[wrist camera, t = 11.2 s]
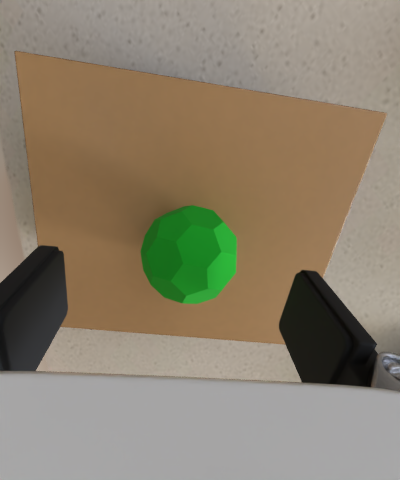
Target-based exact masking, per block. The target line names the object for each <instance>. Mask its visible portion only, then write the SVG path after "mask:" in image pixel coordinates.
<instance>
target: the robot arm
mask: <svg viewBox="0 0 400 480" xmlns="http://www.w3.org/2000/svg"><path fill="white" fill-rule="evenodd" d="M67 311H68V301H67V288H66V276H65V263H64V253H63V251H59V249H58V247H56V246H45V245H40V246H39V247H38V248H36V249H35V250H34V251H33V252H32V253H31V254H30V255H29V256H28V257H27V258H26V259H25V260H24V261H23V262H22V263H21V264H20V265H19V266H18V267H17V268H16V269H15V270H14V271H13V272H12V273H11V274H9V275H8V276H7V277H6V278H5V279H4V280H3V281H2V282H1V283H0V480H400V355H398V354H395V353H391V352H381V353H379V354H378V353H377V352H376V351H375V350H374V349H375V347H376V345H377V344H376V342H375V341H374V340H373V339H372V338H371V336H370V335H369V334H368V333H367V331H366V330H365V329H364V328H363V327H362V325H361V324H360V323H359V322H358V321H357V319H356V318H355V317H354V316H353V315H352V313H351V312H350V311H349V310H348V309H347V307H346V306H345V305H344V304H343V302H342V301H341V300H340V299H339V298H338V296H337V295H336V294H335V293H334V292H333V290H332V289H331V288H330V287H329V286H328V284H327V283H326V282H325V281H324V280H323V278H322V277H321V276H320V275H319V273H318V272H316V271H310V270H301V271H300V272H299V273H296V275H295V277H294V280H293V283H292V286H291V289H290V292H289V295H288V298H287V301H286V303H285V306H284V309H283V312H282V315H281V318H280V321H279V330H280V333H281V335H282V337H283V340H284V342H285V344H286V346H287V349H288V351H289V353H290V356H291V358H292V360H293V362H294V365H295V367H296V369H297V372H298V374H299V376H300V378H301V381H302V383H300V382H280V381H261V380H241V379H219V378H197V377H175V376H152V375H126V374H101V373H75V372H45V371H36V369H37V367H38V365H39V364H40V362H41V360H42V358H43V357H44V355H45V353H46V351H47V349H48V348H49V346H50V344H51V342H52V340H53V339H54V337H55V335H56V333H57V331H58V330H59V328H60V326H61V324H62V323H63V321H64V319H65V317H66V315H67Z"/></svg>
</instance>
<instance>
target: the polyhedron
mask: <svg viewBox="0 0 400 480" xmlns="http://www.w3.org/2000/svg"><path fill="white" fill-rule="evenodd" d="M140 253H141V259H142V265H143V271H144V273H145V275H146V277H147V279H148V281H149V283H150V285H151V286H152V287H153V288H155V289H156V290H157V291H158V292H159V293H160V294H161V295H162V296H163V297H164V298H167V299H170V300H173V301H176V302H179V303H183V304H199V303H202V302H205V301H208V300H211V299H214V298H216V297H217V296H218V294H219V293H220V292H221V291H222V290H223V288H224V287H225V286H226V285H227V283H228V282H229V281H230V280H231V278H232V277H233V276H234V275H235V273H236V260H237V238H236V236H235V235H234V234H233V232H232V231H231V230H230V229H229V228H228V226H227V225H226V224H225V223H224V221H223V220H222V219H221V218H220V217H219V216H218V215H217V214H216V213H215V212H214V211H213V210H210V209H206V208H202V207H198V206H194V205H190V206H184V207H181V208H179V209H176V210H173V211H171V212H168V213H166V214H164V215H162V216H160V217H158V218H157V219H155V220H154V222H153V223H152V225H151V226H150V228H149V230H148V231H147V233H146V234H145V237H144V240H143V244H142V248H141V251H140Z"/></svg>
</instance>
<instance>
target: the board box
mask: <svg viewBox="0 0 400 480" xmlns="http://www.w3.org/2000/svg"><path fill="white" fill-rule="evenodd" d="M15 60H16V68H17V76H18V84H19V93H20V101H21V109H22V118H23V126H24V134H25V142H26V151H27V159H28V167H29V176H30V184H31V192H32V200H33V209H34V217H35V225H36V234H37V242H38V247H39V246H40V245H45V246H56V247H58V249H59V251H63V253H64V263H65V276H66V288H67V301H68V311H67V315H66V317H65V319H64V321H63V323H62V324H61V326H60V327H70V328H82V329H95V330H108V331H121V332H133V333H146V334H159V335H172V336H184V337H197V338H210V339H223V340H235V341H248V342H261V343H274V344H285V342H284V340H283V337H282V335H281V333H280V330H279V321H280V318H281V315H282V312H283V309H284V306H285V303H286V301H287V298H288V295H289V292H290V289H291V286H292V283H293V280H294V277H295V275H296V273H299V272H300V271H301V270H310V271H316V272H318V273H319V275H320V276H321V277H322V278H323V277H324V274H325V272H326V269H327V266H328V264H329V261H330V259H331V256H332V254H333V251H334V249H335V246H336V243H337V241H338V238H339V236H340V233H341V231H342V228H343V226H344V223H345V220H346V218H347V215H348V213H349V210H350V208H351V205H352V203H353V200H354V197H355V195H356V192H357V190H358V187H359V185H360V182H361V180H362V177H363V174H364V172H365V169H366V167H367V164H368V162H369V159H370V157H371V154H372V151H373V149H374V146H375V144H376V141H377V139H378V136H379V134H380V131H381V128H382V126H383V123H384V121H385V118H386V116H387V113H384V112H378V111H372V110H366V109H360V108H354V107H348V106H342V105H336V104H330V103H324V102H318V101H312V100H306V99H300V98H294V97H288V96H282V95H276V94H270V93H264V92H259V91H253V90H247V89H241V88H235V87H229V86H223V85H217V84H211V83H205V82H199V81H193V80H187V79H181V78H175V77H169V76H163V75H157V74H151V73H145V72H139V71H133V70H127V69H121V68H115V67H109V66H103V65H97V64H91V63H85V62H79V61H73V60H67V59H61V58H55V57H49V56H43V55H38V54H32V53H26V52H20V51H15ZM190 205H194V206H198V207H202V208H206V209H210V210H213V211H214V212H215V213H216V214H217V215H218V216H219V217H220V218H221V219H222V220H223V221H224V223H225V224H226V225H227V226H228V228H229V229H230V230H231V231H232V232H233V234H234V235H235V236H236V238H237V260H236V273H235V275H234V276H233V277H232V278H231V280H230V281H229V282H228V283H227V285H226V286H225V287H224V288H223V290H222V291H221V292H220V293H219V294H218V296H217V297H216V298H214V299H211V300H208V301H205V302H202V303H199V304H183V303H179V302H176V301H173V300H170V299H167V298H164V297H163V296H162V295H161V294H160V293H159V292H158V291H157V290H156V289H155V288H153V287H152V286H151V285H150V283H149V281H148V279H147V277H146V275H145V273H144V271H143V265H142V259H141V253H140V251H141V248H142V244H143V240H144V237H145V234H146V233H147V231H148V230H149V228H150V226H151V225H152V223H153V222H154V220H155V219H157V218H158V217H160V216H162V215H164V214H166V213H168V212H171V211H173V210H176V209H179V208H181V207H184V206H190Z"/></svg>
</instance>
